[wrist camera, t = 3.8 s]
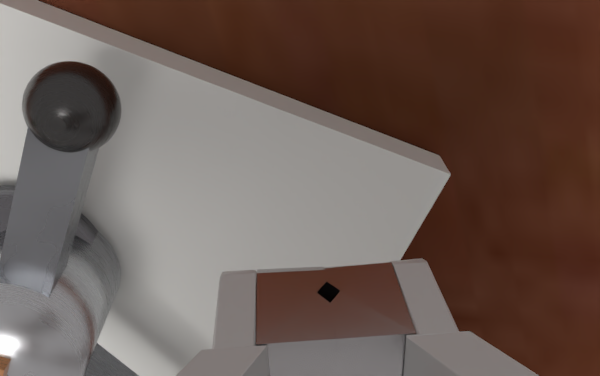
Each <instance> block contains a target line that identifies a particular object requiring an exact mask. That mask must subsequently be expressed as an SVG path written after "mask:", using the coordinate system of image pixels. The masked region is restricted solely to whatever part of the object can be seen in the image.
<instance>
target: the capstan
mask: <svg viewBox="0 0 600 376" xmlns="http://www.w3.org/2000/svg"><path fill="white" fill-rule="evenodd" d="M121 110H122V109H121V101H120V97H119V94H118V92H117V90H116V88H115V86H114V84H113V83H112V82H111V80H110V79H109V78H108V77H107V76H106V75H105V74H104V73H102V72H101V71H100V70H98V69H97V68H95V67H93V66H91V65H88V64H85V63H81V62H76V61H62V62H57V63H53V64H51V65H48V66H46V67H44V68H43V69H41V70H40V71H38V72H37V73H36V74H35V75H34V76H33V77H32V78H31V80H30V81H29V82H28V84H27V86H26V88H25V91H24V94H23V99H22V112H23V117H24V120H25V123H26V125H27V127H28V129H27V134H26V139H25V143H24V148H23V153H22V158H21V162H20V167H19V172H18V177H17V182H16V186H13V185H0V376H139V375H137V374H136V373H135V372H134V371H132V370H131V369H130V368H128V367H127V366H126V365H125V364H123V363H122V362H121V361H120V360H118V359H117V358H116V357H114V356H113V355H112V354H111V353H109V352H108V351H107V350H106V349H104V348H103V347H102V346H100V345H99V344H98V343H97V341H98V339H99V336H100V334H101V331H102V329H103V326H104V324H105V321H106V319H107V316H108V314H109V311H110V309H111V306H112V304H113V301H114V299H115V296H116V294H117V291H118V289H119V286H120V282H121V266H120V262H119V259H118V257H117V254H116V252H115V251H114V249H113V247H112V246H111V244H110V243H109V242H108V241H107V239H106V238H105V237H104V236H103V235H102V234H101V233H99V232H98V231H97V229H96V228H95V227H94V225H93V224H92V223H91V222H90V221H89V220H88V219H87V218H86V217H85V216H84V215H83V214H82V213H81V212H82V209H83V205H84V201H85V198H86V194H87V191H88V187H89V183H90V180H91V176H92V172H93V169H94V165H95V162H96V158H97V154H98V151H99V148H100V147H101V146H103V145H104V144H106V143H107V142H108V141H109V140H110V139H111V138H112V136H113V135H114V134H115V132H116V130H117V128H118V126H119V123H120V119H121Z"/></svg>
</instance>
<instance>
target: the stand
mask: <svg viewBox="0 0 600 376" xmlns="http://www.w3.org/2000/svg"><path fill="white" fill-rule="evenodd" d="M62 61H76V62H81V63H85V64H88V65H91V66H93V67H95V68H97V69H98V70H100V71H101V72H102V73H104V74H105V75H106V76H107V77H108V78H109V79H110V80H111V82H112V83H113V84H114V86H115V88H116V90H117V92H118V94H119V97H120V101H121V109H122V110H121V119H120V123H119V126H118V128H117V130H116V132H115V134H114V135H113V136H112V138H111V139H110V140H109V141H108V142H107V143H106V144H104V145H103V146H101V147H100V148H99V151H98V154H97V158H96V162H95V165H94V169H93V172H92V176H91V180H90V183H89V187H88V191H87V194H86V198H85V201H84V205H83V209H82V212H81V213H82V214H83V215H84V216H85V217H86V218H87V219H88V220H89V221H90V222H91V223H92V224H93V225H94V227H95V228H96V229H97V231H98V232H99V233H101V234H102V235H103V236H104V237H105V238H106V239H107V241H108V242H109V243H110V244H111V246H112V247H113V249H114V251H115V252H116V254H117V257H118V259H119V262H120V266H121V282H120V286H119V289H118V291H117V294H116V296H115V299H114V301H113V304H112V306H111V309H110V311H109V314H108V316H107V319H106V321H105V324H104V326H103V329H102V331H101V334H100V336H99V339H98V341H97V343H98V344H99V345H100V346H102V347H103V348H104V349H106V350H107V351H108V352H109V353H111V354H112V355H113V356H114V357H116V358H117V359H118V360H120V361H121V362H122V363H123V364H125V365H126V366H127V367H128V368H130V369H131V370H132V371H134V372H135V373H136V374H137V375H139V376H176V375H177V374H178V373H179V372H180V371H181V370H182V369H183V368H184V367H185V366H186V365H187V364H188V363H189V362H190V361H191V360H192V359H193V358H194V357H195V356H196V355H197V354H198V353H199V352H200V351H201V350H205V349H212V344H213V335H214V326H215V317H216V307H217V298H218V289H219V279H220V276H221V274H222V272H225V271H240V270H256V271H257V269H279V268H302V267H334V266H347V265H361V264H374V263H387V262H390V261H399V260H401V258H402V256H403V255H404V253H405V251H406V250H407V248H408V246H409V245H410V243H411V241H412V240H413V238H414V236H415V235H416V233H417V231H418V229H419V228H420V226H421V224H422V223H423V221H424V219H425V218H426V216H427V214H428V213H429V211H430V209H431V208H432V206H433V204H434V203H435V201H436V199H437V197H438V196H439V194H440V192H441V191H442V189H443V187H444V186H445V184H446V182H447V181H448V179H449V177H450V176H451V174H450V172H449V170H448V169H447V167H446V165H445V164H444V162H443V160H442V159H441V157H440V155H437V154H435V153H432V152H429V151H427V150H424V149H422V148H419V147H416V146H414V145H411V144H409V143H406V142H403V141H401V140H398V139H396V138H393V137H390V136H388V135H385V134H383V133H380V132H378V131H375V130H372V129H370V128H367V127H365V126H362V125H359V124H357V123H354V122H352V121H349V120H346V119H344V118H341V117H339V116H336V115H333V114H331V113H328V112H326V111H323V110H321V109H318V108H315V107H313V106H310V105H308V104H305V103H302V102H300V101H297V100H295V99H292V98H289V97H287V96H284V95H282V94H279V93H276V92H274V91H271V90H269V89H266V88H264V87H261V86H258V85H256V84H253V83H251V82H248V81H245V80H243V79H240V78H238V77H235V76H232V75H230V74H227V73H225V72H222V71H219V70H217V69H214V68H212V67H209V66H207V65H204V64H201V63H199V62H196V61H194V60H191V59H188V58H186V57H183V56H181V55H178V54H175V53H173V52H170V51H168V50H165V49H163V48H160V47H157V46H155V45H152V44H150V43H147V42H144V41H142V40H139V39H137V38H134V37H131V36H129V35H126V34H124V33H121V32H118V31H116V30H113V29H111V28H108V27H106V26H103V25H100V24H98V23H95V22H93V21H90V20H87V19H85V18H82V17H80V16H77V15H74V14H72V13H69V12H67V11H64V10H61V9H59V8H56V7H54V6H51V5H49V4H46V3H43V2H41V1H38V0H0V185H13V186H16V182H17V177H18V172H19V167H20V162H21V158H22V153H23V148H24V143H25V139H26V134H27V129H28V127H27V125H26V123H25V120H24V117H23V112H22V99H23V94H24V91H25V88H26V86H27V84H28V82H29V81H30V80H31V78H32V77H33V76H34V75H35V74H36V73H37V72H38V71H40V70H41V69H43V68H44V67H46V66H48V65H51V64H53V63H57V62H62Z"/></svg>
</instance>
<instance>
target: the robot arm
mask: <svg viewBox="0 0 600 376" xmlns="http://www.w3.org/2000/svg"><path fill="white" fill-rule="evenodd" d="M176 376H539V375H537V374H536V373H534V372H533V371H531V370H530V369H528V368H526V367H525V366H523V365H522V364H520V363H519V362H517V361H516V360H514V359H512V358H511V357H509V356H508V355H506V354H505V353H503V352H502V351H500V350H498V349H497V348H495V347H494V346H492V345H491V344H489V343H488V342H486V341H484V340H483V339H481V338H480V337H478V336H477V335H475V334H474V333H472V332H470V331H462V332H459V330H458V328H457V326H456V323H455V321H454V319H453V317H452V315H451V313H450V310H449V308H448V306H447V304H446V302H445V300H444V297H443V295H442V293H441V291H440V289H439V286H438V284H437V282H436V280H435V278H434V276H433V273H432V271H431V269H430V267H429V265H428V262H427V261H426V260H424V259H423V258H420V259H409V260H399V261H390V262H387V263H374V264H361V265H347V266H334V267H302V268H279V269H257V271H256V270H240V271H225V272H222V274H221V276H220V279H219V289H218V298H217V307H216V317H215V326H214V335H213V344H212V349H205V350H201V351H200V352H199V353H198V354H197V355H196V356H195V357H194V358H193V359H192V360H191V361H190V362H189V363H188V364H187V365H186V366H185V367H184V368H183V369H182V370H181V371H180V372H179V373H178V374H177V375H176Z"/></svg>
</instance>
